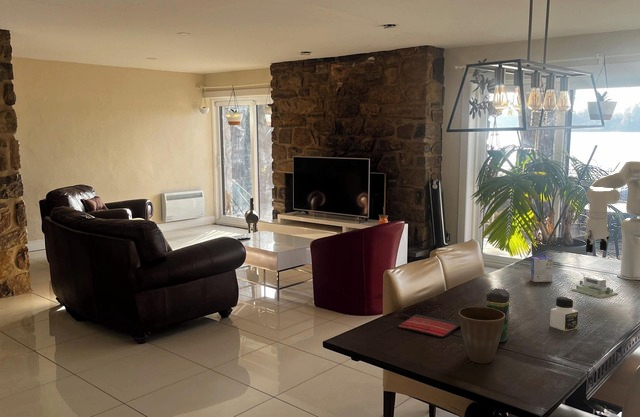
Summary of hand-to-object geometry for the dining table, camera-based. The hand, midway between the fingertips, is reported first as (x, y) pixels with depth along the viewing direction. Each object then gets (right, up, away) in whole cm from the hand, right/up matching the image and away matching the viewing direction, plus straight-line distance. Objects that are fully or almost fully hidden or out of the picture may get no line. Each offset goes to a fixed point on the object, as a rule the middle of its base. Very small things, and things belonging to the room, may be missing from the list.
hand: (596, 251), depth 266 cm
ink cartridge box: (-16, -18, +25) cm, 35 cm away
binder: (-89, -27, -45) cm, 103 cm away
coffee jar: (-66, -28, -59) cm, 93 cm away
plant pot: (-78, -31, -78) cm, 114 cm away
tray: (0, -20, +2) cm, 20 cm away
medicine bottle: (-36, -27, -47) cm, 65 cm away
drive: (0, -19, +2) cm, 19 cm away
